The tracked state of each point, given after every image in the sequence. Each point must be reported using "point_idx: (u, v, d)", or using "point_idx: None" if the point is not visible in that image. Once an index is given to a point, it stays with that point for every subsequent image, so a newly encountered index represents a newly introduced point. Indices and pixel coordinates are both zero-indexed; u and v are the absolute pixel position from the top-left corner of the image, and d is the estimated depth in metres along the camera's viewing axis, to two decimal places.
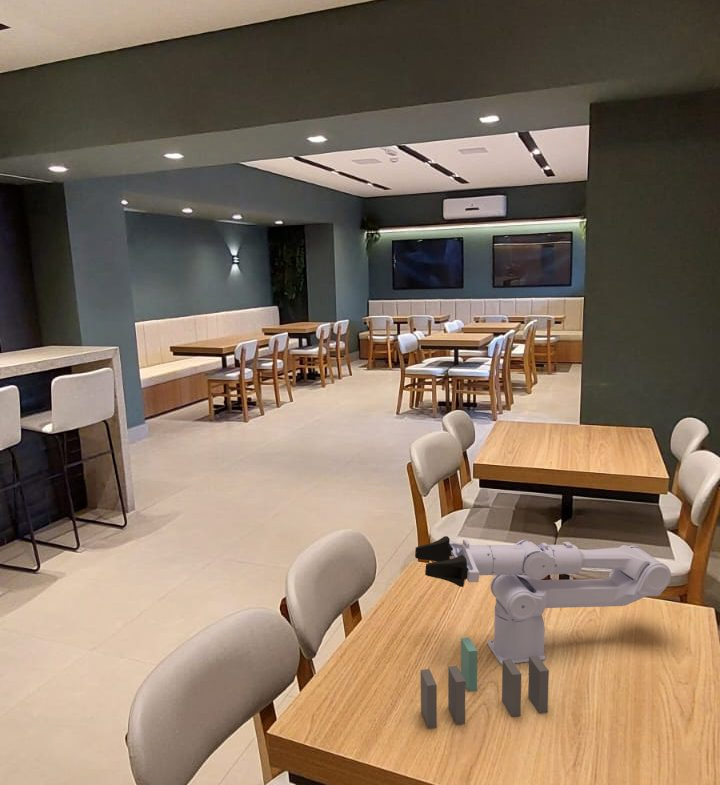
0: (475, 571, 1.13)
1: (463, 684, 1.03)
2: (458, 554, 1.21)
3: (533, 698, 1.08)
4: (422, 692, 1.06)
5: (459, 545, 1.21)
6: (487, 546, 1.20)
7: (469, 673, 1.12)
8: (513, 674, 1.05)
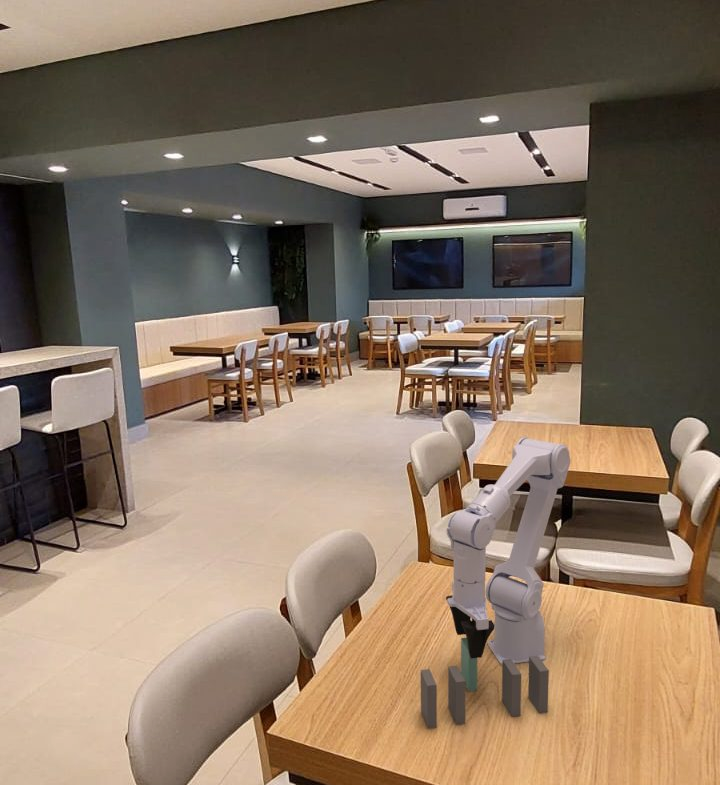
0: (477, 623, 1.05)
1: (463, 684, 1.03)
2: None
3: (533, 698, 1.08)
4: (422, 692, 1.06)
5: None
6: (454, 578, 1.11)
7: (469, 673, 1.12)
8: (513, 674, 1.05)
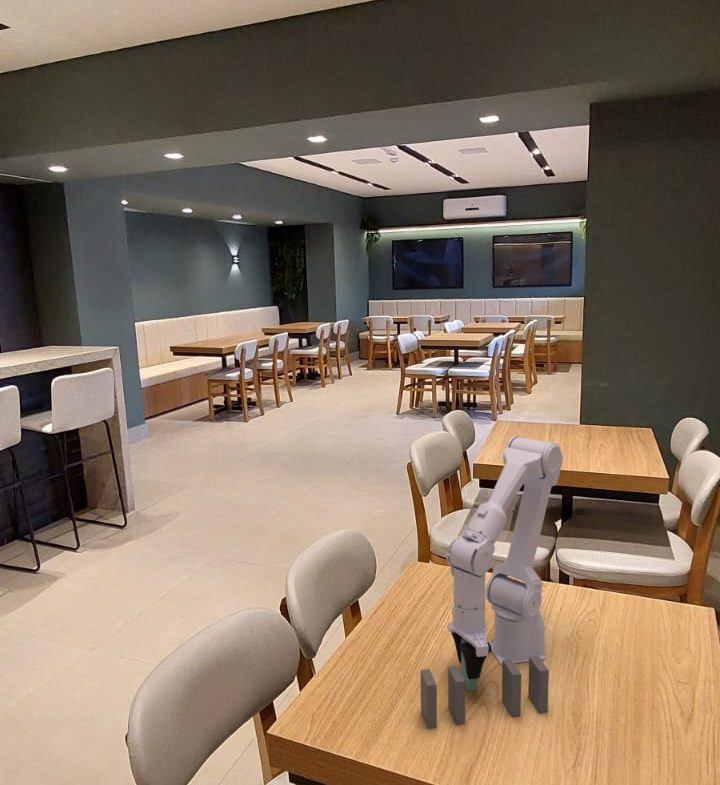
0: (476, 649, 1.06)
1: (463, 684, 1.03)
2: None
3: (533, 698, 1.08)
4: (422, 692, 1.06)
5: None
6: (454, 604, 1.12)
7: None
8: (513, 674, 1.05)
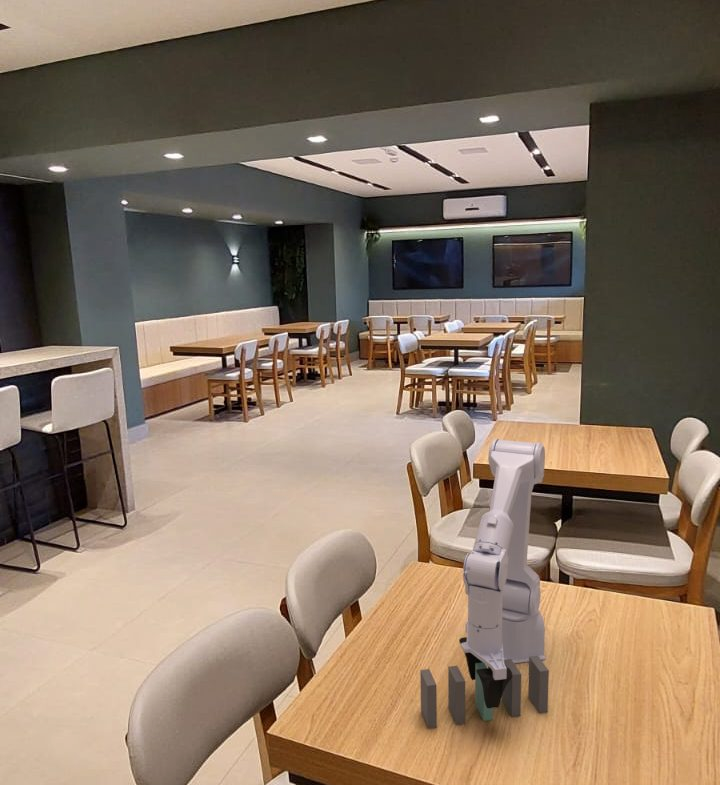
0: (494, 672, 0.98)
1: (463, 684, 1.03)
2: None
3: (533, 698, 1.08)
4: (422, 692, 1.06)
5: None
6: (469, 622, 1.04)
7: (484, 702, 1.04)
8: (513, 674, 1.05)
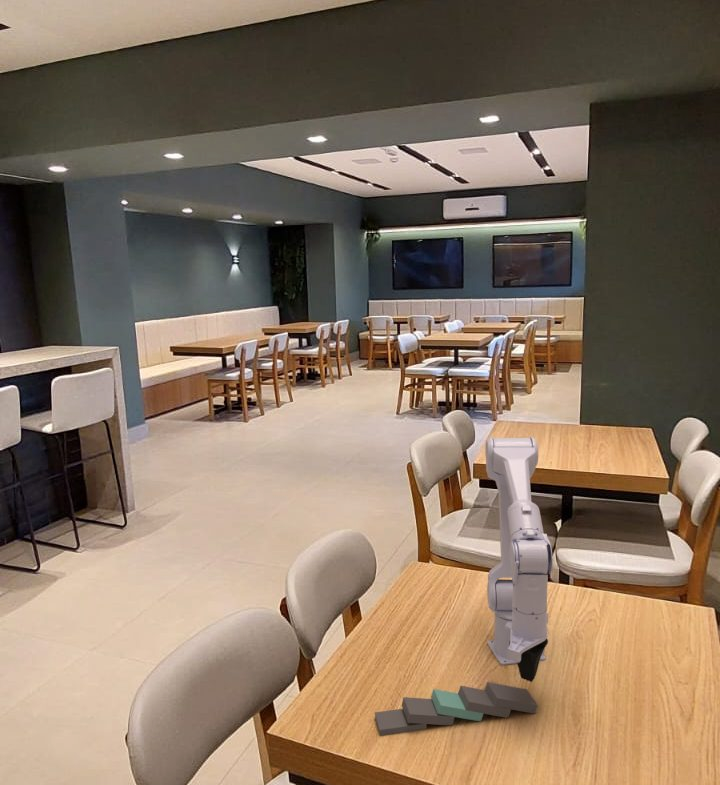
0: (508, 651, 1.01)
1: (412, 716, 1.02)
2: None
3: None
4: None
5: None
6: None
7: (461, 717, 1.04)
8: (466, 708, 1.04)
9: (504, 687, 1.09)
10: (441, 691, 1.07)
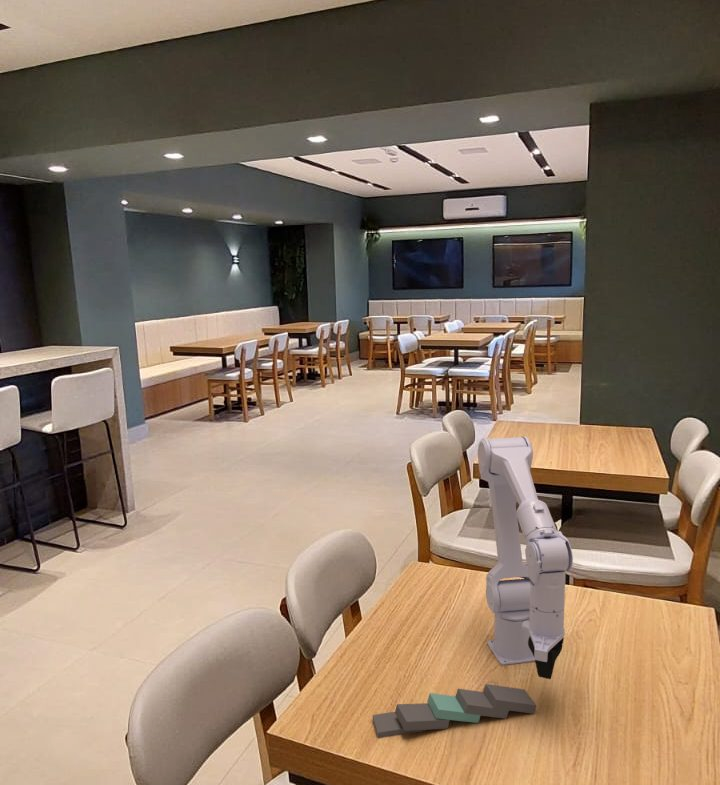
0: (534, 652, 1.01)
1: (409, 723, 1.01)
2: None
3: None
4: None
5: None
6: None
7: (459, 720, 1.04)
8: (465, 711, 1.03)
9: (502, 688, 1.08)
10: (437, 694, 1.07)
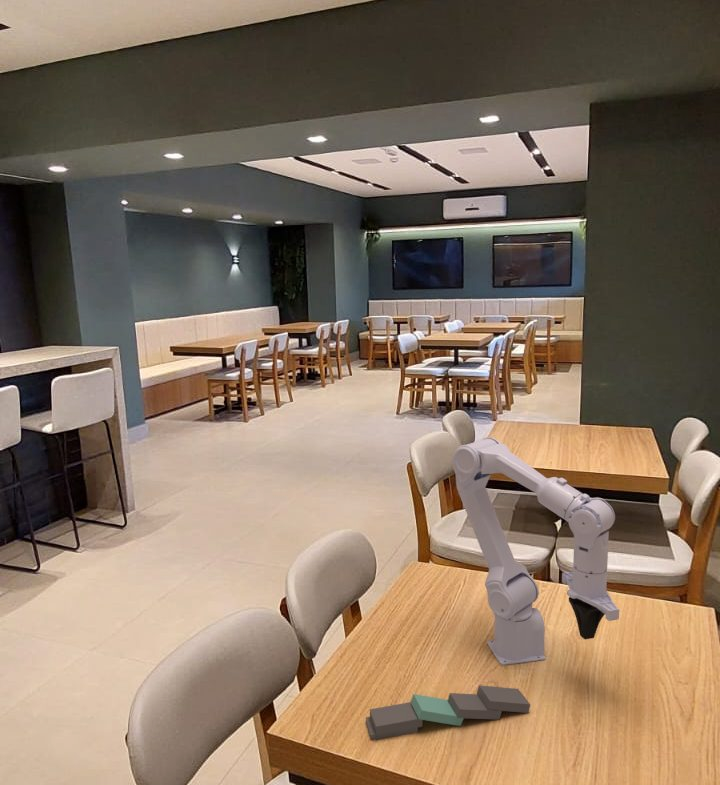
0: (607, 613, 1.03)
1: (379, 727, 1.01)
2: None
3: None
4: None
5: None
6: (575, 570, 1.09)
7: (442, 722, 1.03)
8: (457, 716, 1.03)
9: (496, 689, 1.09)
10: (421, 696, 1.06)
